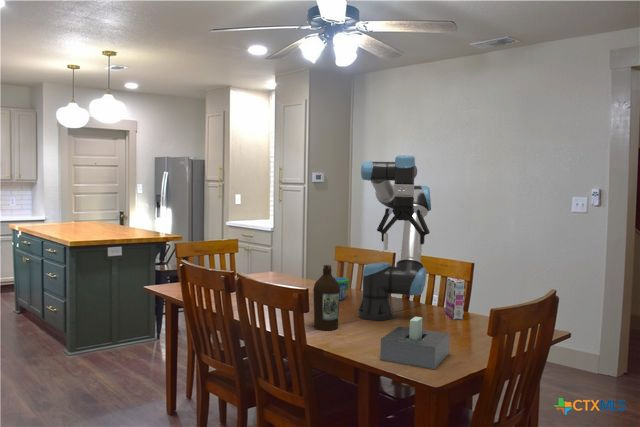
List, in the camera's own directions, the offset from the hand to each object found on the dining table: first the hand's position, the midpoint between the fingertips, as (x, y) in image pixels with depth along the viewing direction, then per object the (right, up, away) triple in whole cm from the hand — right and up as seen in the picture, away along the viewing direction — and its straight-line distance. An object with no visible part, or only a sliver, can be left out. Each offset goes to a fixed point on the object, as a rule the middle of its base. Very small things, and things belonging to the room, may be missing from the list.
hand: (402, 251), depth 208 cm
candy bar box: (+27, -31, +30) cm, 51 cm away
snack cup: (-23, -28, +62) cm, 72 cm away
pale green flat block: (0, -32, -27) cm, 42 cm away
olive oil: (-29, -31, +7) cm, 43 cm away
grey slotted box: (0, -33, -27) cm, 43 cm away
